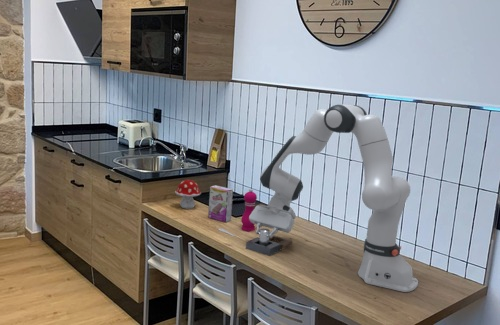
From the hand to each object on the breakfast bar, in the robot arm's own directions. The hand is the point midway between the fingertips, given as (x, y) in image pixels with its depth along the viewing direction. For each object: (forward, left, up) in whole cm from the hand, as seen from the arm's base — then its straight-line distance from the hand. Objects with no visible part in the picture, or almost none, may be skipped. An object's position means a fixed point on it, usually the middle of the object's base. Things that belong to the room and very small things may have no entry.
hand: (263, 235), depth 217 cm
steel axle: (0, -1, -7) cm, 7 cm away
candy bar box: (+39, -20, -7) cm, 44 cm away
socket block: (0, -1, -7) cm, 7 cm away
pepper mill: (+20, -18, -7) cm, 28 cm away
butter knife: (+19, -6, -7) cm, 21 cm away
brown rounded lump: (+26, -38, -7) cm, 47 cm away
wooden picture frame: (0, -11, -7) cm, 13 cm away
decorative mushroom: (+64, -24, -7) cm, 69 cm away
